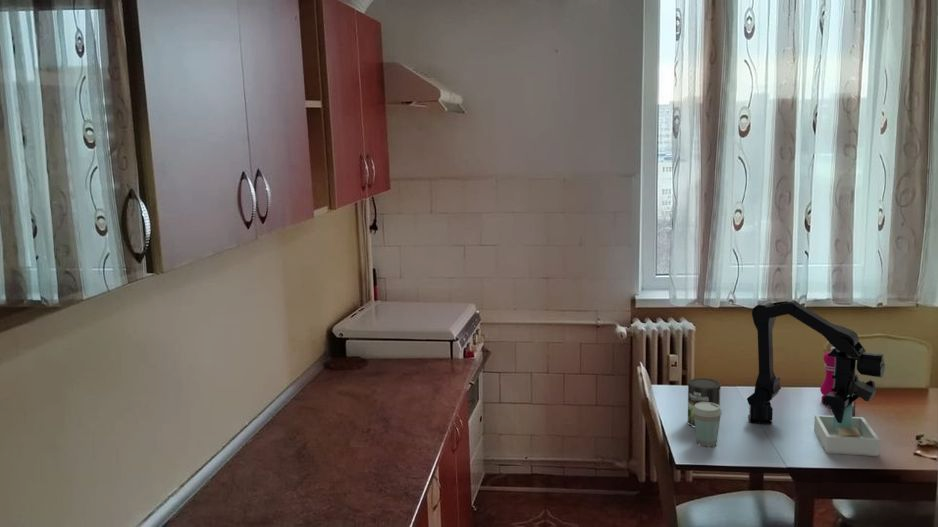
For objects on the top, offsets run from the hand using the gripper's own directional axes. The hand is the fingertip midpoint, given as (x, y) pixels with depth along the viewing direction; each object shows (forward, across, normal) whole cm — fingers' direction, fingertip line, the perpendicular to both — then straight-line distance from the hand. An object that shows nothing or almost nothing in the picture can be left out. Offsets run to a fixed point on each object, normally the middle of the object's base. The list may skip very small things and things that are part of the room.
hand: (842, 420), depth 227 cm
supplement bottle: (+6, +13, +3) cm, 15 cm away
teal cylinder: (+2, 0, 0) cm, 2 cm away
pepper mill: (+6, +29, +13) cm, 33 cm away
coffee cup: (+6, -30, +30) cm, 42 cm away
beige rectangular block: (+5, -7, -4) cm, 10 cm away
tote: (+6, -4, -2) cm, 7 cm away
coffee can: (+6, -16, +38) cm, 41 cm away
